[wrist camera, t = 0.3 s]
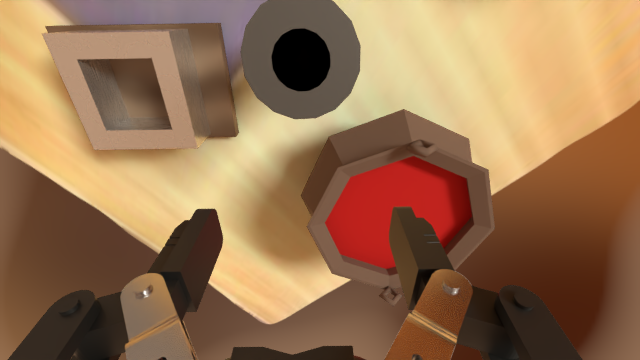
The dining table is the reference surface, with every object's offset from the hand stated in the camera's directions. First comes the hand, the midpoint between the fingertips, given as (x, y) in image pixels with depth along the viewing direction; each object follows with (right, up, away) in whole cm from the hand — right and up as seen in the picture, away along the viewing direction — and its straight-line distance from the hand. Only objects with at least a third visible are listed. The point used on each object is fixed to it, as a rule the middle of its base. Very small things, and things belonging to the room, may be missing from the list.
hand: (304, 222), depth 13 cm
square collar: (-21, +14, +24) cm, 35 cm away
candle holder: (0, +20, +22) cm, 30 cm away
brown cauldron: (+10, +3, +32) cm, 34 cm away
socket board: (-21, +15, +25) cm, 36 cm away
